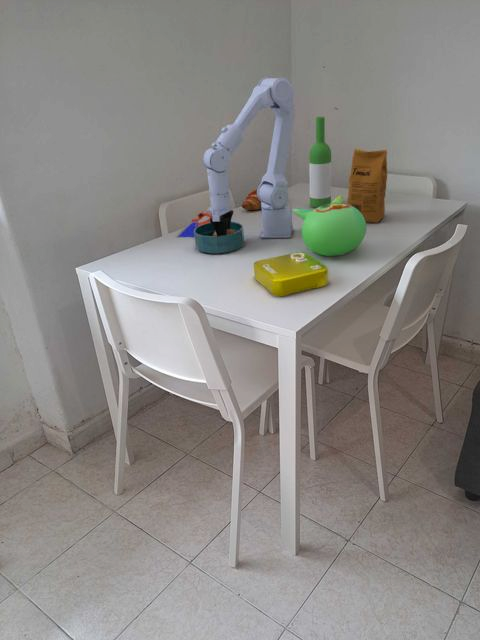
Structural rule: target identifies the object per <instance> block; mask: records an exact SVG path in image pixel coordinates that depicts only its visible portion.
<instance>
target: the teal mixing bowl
mask: <svg viewBox="0 0 480 640" xmlns="http://www.w3.org/2000/svg"><path fill="white" fill-rule="evenodd" d="M230 229H233V230H235V231H236V232H235V233H232V234H228V235H223V236H213V234H214V232H215V229H214V227H213V225H212V224H211V223H206V224H203V225H200V226H198V227H196V228H195V229H194V236H195V237H194V243H195V249H196V250H198V251H199V252H201V253H205V254H211V255H212V254H215V255H216V254H227V253H231V252H234V251H236V250H239V249H240V248H242V247H243V246H244V245H245V232H244V226H243V224H242V223H240V222H236V221H233V220H231V223H230Z"/></svg>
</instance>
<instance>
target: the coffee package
mask: <svg viewBox="0 0 480 640" xmlns="http://www.w3.org/2000/svg"><path fill="white" fill-rule="evenodd" d="M387 154H388V152H387V149H381V150H371V151H367V150H362V149H357V148H354V150H353V155H352V160H351V167H350V175H349V181H348V193H347V203H346V204H347V205H350V206H353V207H355V208H356V209H357V210H359V211H360V212H361V214H362V215H363V217H364V219H365V222H366V224H367V223H368V224H369V223H370V224H372V223H374V224H375V223H376V224H377V223H379V222H380V221H381V220H382V219H383V218H384V217H385V212H386V206H385V199H386V192H387V179H388V168H387V167H388V162H387V161H388V159H387Z"/></svg>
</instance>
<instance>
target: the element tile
mask: <svg viewBox="0 0 480 640" xmlns="http://www.w3.org/2000/svg"><path fill="white" fill-rule="evenodd" d="M328 268H329V267H327V266H326V265H325V264H323V263H321V262H320V261H319V260H318V259H315V258H314V257H312V256H311V255H309V254H308V253H306V252H305V251H304V252H303V251H296V252H292V253H288V254H282V255H279V256H274V257H269V258H265V259H259V260H256V261H254V263H253V272H254V279H255V280H256V281H257V282H258V283H259V284H260V285H261V286H262V287H263V288H265V289H266V290H267V291H268V292H269V293H270V294H271V295H273V296H274V297H286V296H290V295H293V294H294V295H295V294H298V293H301V292H302V293H303V292H305V291H310V290H314V289H319V288H323V287H325V286H327V285H328V283H329V269H328Z"/></svg>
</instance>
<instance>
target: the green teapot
mask: <svg viewBox="0 0 480 640" xmlns="http://www.w3.org/2000/svg"><path fill="white" fill-rule="evenodd" d="M343 200H344V196H343V195H342V194H340V195H338V196H336V197H335V199H333V200H332V201H331V204H327V205H323V206H320V207H318V208H315V209H305V208H294V209H292V213H293V214H295V215H296V216H297V217H299V218H300V219H302V220H303V222H302V225H301V237H302V240H303V242H304V244H305V246H306V247H307V248H308V249H309V250H310V251H311V252H313V253H315V254H317V255H321V256H326V257H335V256H341V255H345V254H347V253H350V252H352V251H354V250H355V249H356V248H358V247H359V246H360V245H361V244H362V242H363V241H364V238H365V236H366V233H367V223H366V222H365V219H364V217H363V215H362V214H361V212H360V211H359V210H357V209H356V208H355V207H353V206H350V205H347V203H343Z"/></svg>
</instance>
